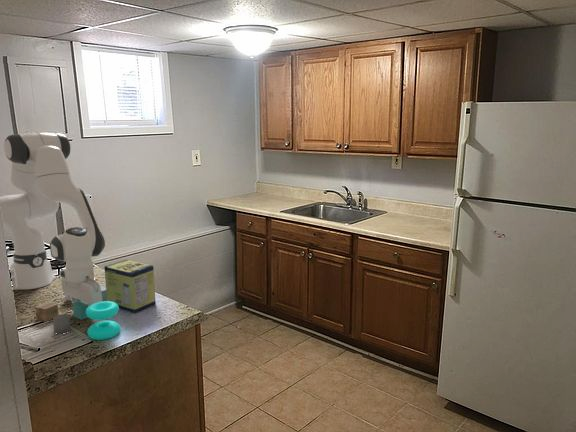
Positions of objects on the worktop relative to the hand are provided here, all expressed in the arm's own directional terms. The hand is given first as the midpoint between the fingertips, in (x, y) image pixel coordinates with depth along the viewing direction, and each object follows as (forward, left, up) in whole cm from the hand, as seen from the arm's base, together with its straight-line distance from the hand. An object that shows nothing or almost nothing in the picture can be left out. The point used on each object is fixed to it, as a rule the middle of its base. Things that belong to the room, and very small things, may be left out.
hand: (83, 310), depth 164 cm
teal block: (0, 0, -2) cm, 2 cm away
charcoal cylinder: (+6, -11, -2) cm, 13 cm away
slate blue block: (-8, +11, -2) cm, 14 cm away
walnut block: (-8, -9, -2) cm, 12 cm away
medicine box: (-19, +8, -2) cm, 21 cm away
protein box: (+5, +16, -2) cm, 17 cm away
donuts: (+19, -4, -2) cm, 20 cm away
